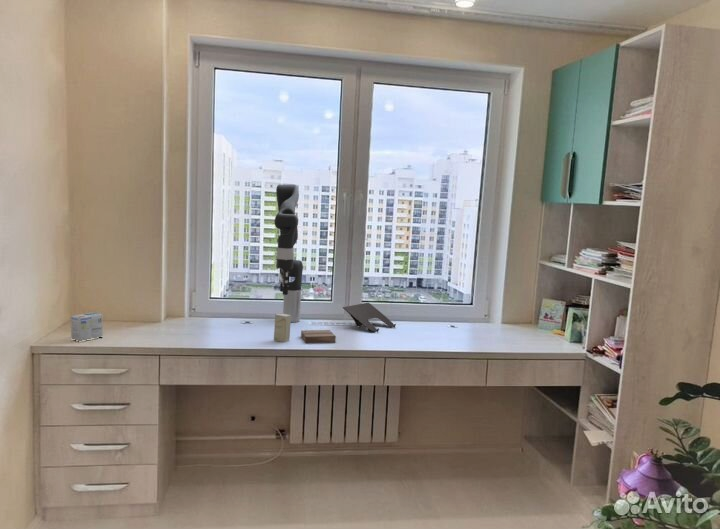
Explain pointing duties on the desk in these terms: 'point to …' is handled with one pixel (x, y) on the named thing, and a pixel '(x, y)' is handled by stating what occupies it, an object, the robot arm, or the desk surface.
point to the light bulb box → (86, 326)
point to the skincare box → (282, 327)
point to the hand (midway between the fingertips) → (283, 293)
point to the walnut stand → (318, 336)
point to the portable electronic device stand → (367, 315)
